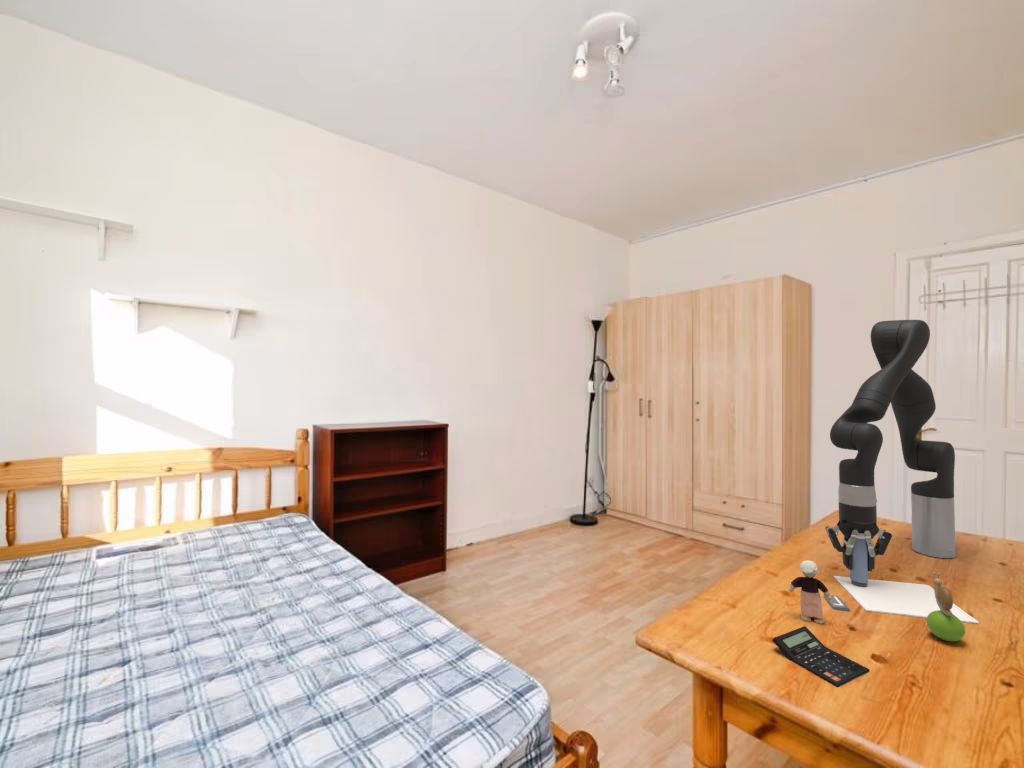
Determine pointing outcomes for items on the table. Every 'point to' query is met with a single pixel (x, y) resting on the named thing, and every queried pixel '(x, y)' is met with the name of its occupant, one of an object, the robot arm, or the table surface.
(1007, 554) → the table surface
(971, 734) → the table surface
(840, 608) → the letter card
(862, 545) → the grey-blue cylinder
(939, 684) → the table surface
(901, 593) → the paper
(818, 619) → the grandmother figurine
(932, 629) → the snail figurine
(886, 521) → the table surface
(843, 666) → the calculator
